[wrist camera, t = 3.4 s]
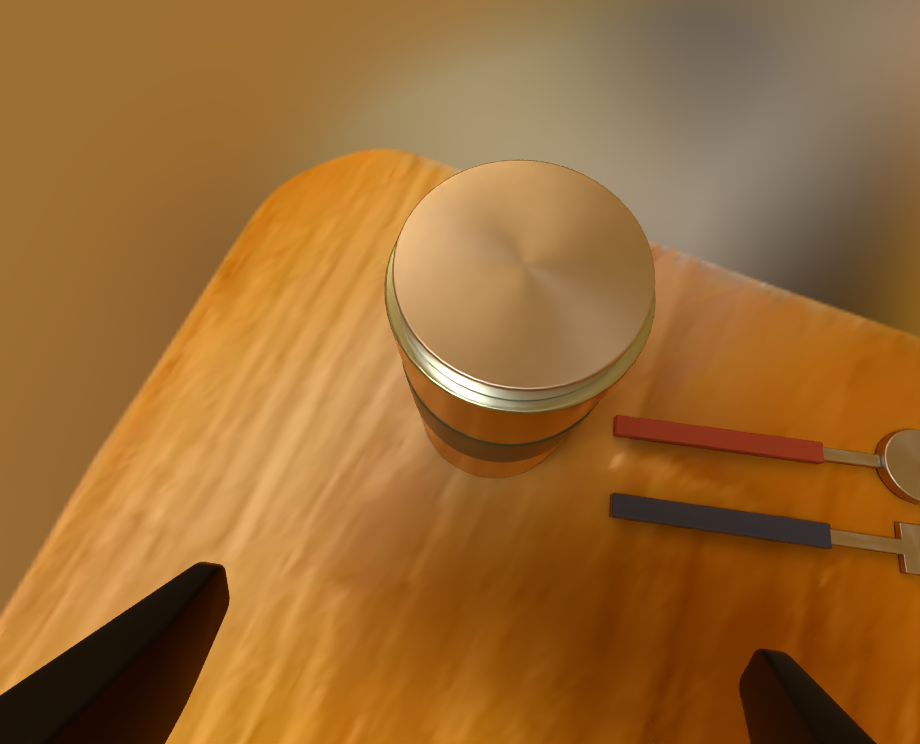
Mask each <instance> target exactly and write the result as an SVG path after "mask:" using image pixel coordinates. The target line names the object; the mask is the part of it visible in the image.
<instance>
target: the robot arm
mask: <svg viewBox="0 0 920 744" xmlns="http://www.w3.org/2000/svg"><path fill="white" fill-rule="evenodd" d="M229 599H230V597H229V590H228V584H227V577H226V571H225V568H224V567H223V566H222V565H220V564H215V563H209V562H199V563H197V564H195V565H193V566H191V567H190V568H189V569H187V570H186V571H184V572H183V573H181V574H180V575H178V576H177V577H175V578H174V579H172V580H171V581H169V582H168V583H166V584H165V585H163V586H162V587H160V588H159V589H157V590H156V591H154V592H153V593H151V594H150V595H148V596H147V597H146V598H144V599H143V600H141V601H140V602H138V603H137V604H135V605H134V606H132V607H131V608H129V609H128V610H126V611H125V612H123V613H122V614H120V615H119V616H117V617H116V618H114V619H113V620H111V621H110V622H108V623H107V624H105V625H104V626H103V627H101V628H100V629H98V630H97V631H95V632H94V633H92V634H91V635H89V636H88V637H86V638H85V639H83V640H82V641H80V642H79V643H77V644H76V645H74V646H73V647H71V648H70V649H68V650H67V651H65V652H64V653H62V654H61V655H60V656H58V657H57V658H55V659H54V660H52V661H51V662H49V663H48V664H46V665H45V666H43V667H42V668H40V669H39V670H37V671H36V672H34V673H33V674H31V675H30V676H28V677H27V678H25V679H24V680H22V681H21V682H19V683H18V684H17V685H15V686H14V687H12V688H11V689H9V690H8V691H6V692H5V693H3V694H2V695H0V744H165V743H166V741H167V739H168V737H169V735H170V733H171V732H172V730H173V728H174V726H175V724H176V723H177V721H178V719H179V717H180V715H181V713H182V711H183V709H184V707H185V705H186V703H187V701H188V699H189V697H190V695H191V693H192V690H193V688H194V686H195V684H196V681H197V679H198V677H199V674H200V672H201V670H202V667H203V665H204V663H205V660H206V658H207V656H208V654H209V651H210V649H211V647H212V644H213V642H214V640H215V637H216V635H217V633H218V630H219V628H220V626H221V624H222V621H223V619H224V617H225V614H226V612H227V609H228V606H229ZM739 691H740V697H741V702H742V706H743V711H744V715H745V720H746V724H747V729H748V733H749V738H750V742H751V744H876V743H875V742H874V741H873V740H872V739H871V738H870V737H869V736H868V735H867V734H866V733H865V732H864V730H863V729H862V728H861V727H860V726H859V725H858V724H857V723H856V722H855V721H854V720H853V719H852V718H851V717H850V716H849V715H848V714H847V713H846V712H845V711H844V710H843V709H842V708H841V707H840V706H839V705H838V704H837V703H836V702H835V701H834V700H833V699H832V698H831V697H830V696H829V695H828V694H827V693H826V692H825V691H824V690H823V689H822V688H821V687H820V686H819V685H818V684H817V683H816V682H815V681H814V680H813V679H812V678H811V677H810V676H809V675H808V674H807V673H806V672H805V671H804V670H803V669H802V668H801V667H800V666H799V665H798V664H797V663H796V662H795V661H794V660H793V659H792V658H791V657H790V656H789V655H787V654H786V653H784V652H781V651H776V650H770V649H763V648H760V649H758V650H756V651H755V652H754V654H753V656H752V658H751V659H750V661H749V663H748V665H747V667H746V668H745V670H744V672H743V674H742V676H741V678H740V683H739Z"/></svg>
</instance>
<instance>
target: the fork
mask: <svg viewBox="0 0 920 744" xmlns="http://www.w3.org/2000/svg"><path fill="white" fill-rule="evenodd" d="M609 516H610V517H611V518H618V519H624V520H631V521H638V522H645V523H652V524H659V525H666V526H672V527H679V528H686V529H693V530H700V531H707V532H713V533H720V534H727V535H734V536H741V537H748V538H754V539H761V540H768V541H775V542H782V543H789V544H796V545H802V546H809V547H816V548H823V549H831V548H832V545H836V546H843V547H850V548H857V549H863V550H870V551H877V552H884V553H891V554H898V555H899V562H900V570H901V572H902V573H908V574H914V575H920V525H915V524H908V523H901V522H897V523H894V525H895V532H896V539H895V538H888V537H881V536H874V535H867V534H860V533H853V532H846V531H839V530H832V529H830V524H827V523H820V522H813V521H806V520H799V519H792V518H785V517H778V516H771V515H764V514H757V513H750V512H743V511H736V510H729V509H722V508H715V507H708V506H702V505H695V504H688V503H681V502H674V501H667V500H660V499H653V498H646V497H639V496H632V495H625V494H618V493H612V494H611V495H610V512H609Z"/></svg>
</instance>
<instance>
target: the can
mask: <svg viewBox="0 0 920 744" xmlns="http://www.w3.org/2000/svg"><path fill="white" fill-rule="evenodd" d="M385 304H386V311H387V316H388V319H389V322H390V326H391V329H392V332H393V335H394V338H395V341H396V344H397V347H398V350H399V353H400V356H401V359H402V363H403V367H404V371H405V374H406V377H407V380H408V383H409V386H410V389H411V392H412V395H413V397H414V400H415V403H416V406H417V408H418V410H419V412H420V414H421V417H422V420H423V423H424V426H425V429H426V432H427V434H428V436H429V439H430V441H431V442H432V444H433V445H434V447H435V448H436V450H437V451H438V452H439V453H440V454H441V456H442V457H444V458H445V459H446V460H447V461H448V462H449V463H451V464H452V465H453V466H455V467H456V468H458V469H460V470H462V471H464V472H466V473H469V474H472V475H475V476H479V477H484V478H506V477H511V476H515V475H518V474H521V473H524V472H526V471H528V470H530V469H532V468H533V467H535V466H536V465H538V464H539V463H540V462H541V461H543V460H544V459H545V458H546V457H547V456H548V455H549V454H550V453H551V452H552V451H553V450H554V448H555V447H556V446H557V445H558V444H559V443H561V442H562V441H563V440H564V439H565V438H566V437H567V436H568V435H569V434H570V433H571V432H572V431H573V430H574V429H575V428H576V427H577V426H578V425H579V424H580V423H581V422H582V421H583V420H584V419H585V418H586V417H587V416H588V414H589V413H590V412H591V411H592V410H593V408H594V407H595V406H596V405H597V404H598V402H599V401H600V400H601V399H602V398H603V397H604V396H605V394H606V393H607V392H608V391H609V390H610V389H611V388H612V387H613V386H614V385H615V384H616V383H617V382H618V381H619V380H620V379H621V378H622V376H623V375H624V374H625V373H626V372H627V371H628V369H629V368H630V367H631V366H632V365H633V363H634V362H635V361H636V359H637V358H638V356H639V354H640V353H641V351H642V349H643V348H644V345H645V343H646V341H647V338H648V336H649V334H650V330H651V326H652V322H653V318H654V311H655V270H654V263H653V258H652V253H651V249H650V247H649V244H648V241H647V238H646V236H645V234H644V232H643V230H642V228H641V226H640V224H639V223H638V221H637V220H636V218H635V217H634V216H633V214H632V213H631V211H630V210H629V209H628V208H627V207H626V206H625V205H624V204H623V203H622V202H621V200H620V199H619V198H617V197H616V196H615V195H614V194H613V193H612V192H611V191H609V190H608V189H607V188H605V187H604V186H602V185H601V184H599V183H598V182H596V181H595V180H593V179H591V178H589V177H587V176H585V175H584V174H582V173H579V172H577V171H574V170H572V169H569V168H567V167H563V166H559V165H556V164H552V163H547V162H540V161H533V160H505V161H498V162H491V163H486V164H483V165H479V166H476V167H472V168H470V169H467V170H465V171H462V172H460V173H458V174H456V175H454V176H452V177H450V178H448V179H447V180H445V181H444V182H442V183H441V184H439V185H438V186H436V187H435V188H434V189H432V190H431V191H430V192H429V193H428V194H427V195H426V196H425V197H424V198H423V199H422V200H421V201H420V202H419V203H418V204H417V206H416V207H415V208H414V209H413V211H412V212H411V214H410V215H409V217H408V218H407V220H406V221H405V223H404V225H403V228H402V230H401V232H400V234H399V236H398V239H397V241H396V243H395V245H394V248H393V250H392V252H391V255H390V258H389V262H388V265H387V269H386V276H385Z"/></svg>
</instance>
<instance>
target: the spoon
mask: <svg viewBox="0 0 920 744" xmlns="http://www.w3.org/2000/svg"><path fill="white" fill-rule="evenodd" d="M613 436H616V437H623V438H630V439H638V440H645V441H652V442H660V443H667V444H674V445H681V446H689V447H696V448H703V449H710V450H718V451H725V452H732V453H740V454H747V455H754V456H761V457H769V458H776V459H783V460H791V461H798V462H805V463H812V464H819V463H824V461H825V462H832V463H839V464H847V465H854V466H861V467H868V468H877V471H878V473H879V476H880V477H881V479H882V481H883V482H884V484H885V485H886V486H887V487H888V488H889V489H890V490H891V491H892V492H893V493H894V494H896V495H897V496H898V497H900V498H902V499H904V500H906V501H908V502H911V503H914V504H920V430H915V429H907V430H902V431H898V432H894V433H892V434H889V435H887V436H886V437H885V438H883V440H882V441H881V442H880V443H879V445H878V447H877V449H876V453H875V454H869V453H861V452H854V451H847V450H839V449H832V448H825V447H823V444H822V443H821V442H814V441H806V440H799V439H791V438H784V437H777V436H769V435H762V434H754V433H747V432H740V431H732V430H725V429H717V428H710V427H702V426H695V425H688V424H680V423H673V422H665V421H658V420H651V419H643V418H636V417H628V416H621V415H616V416H615V417H614V425H613Z"/></svg>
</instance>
